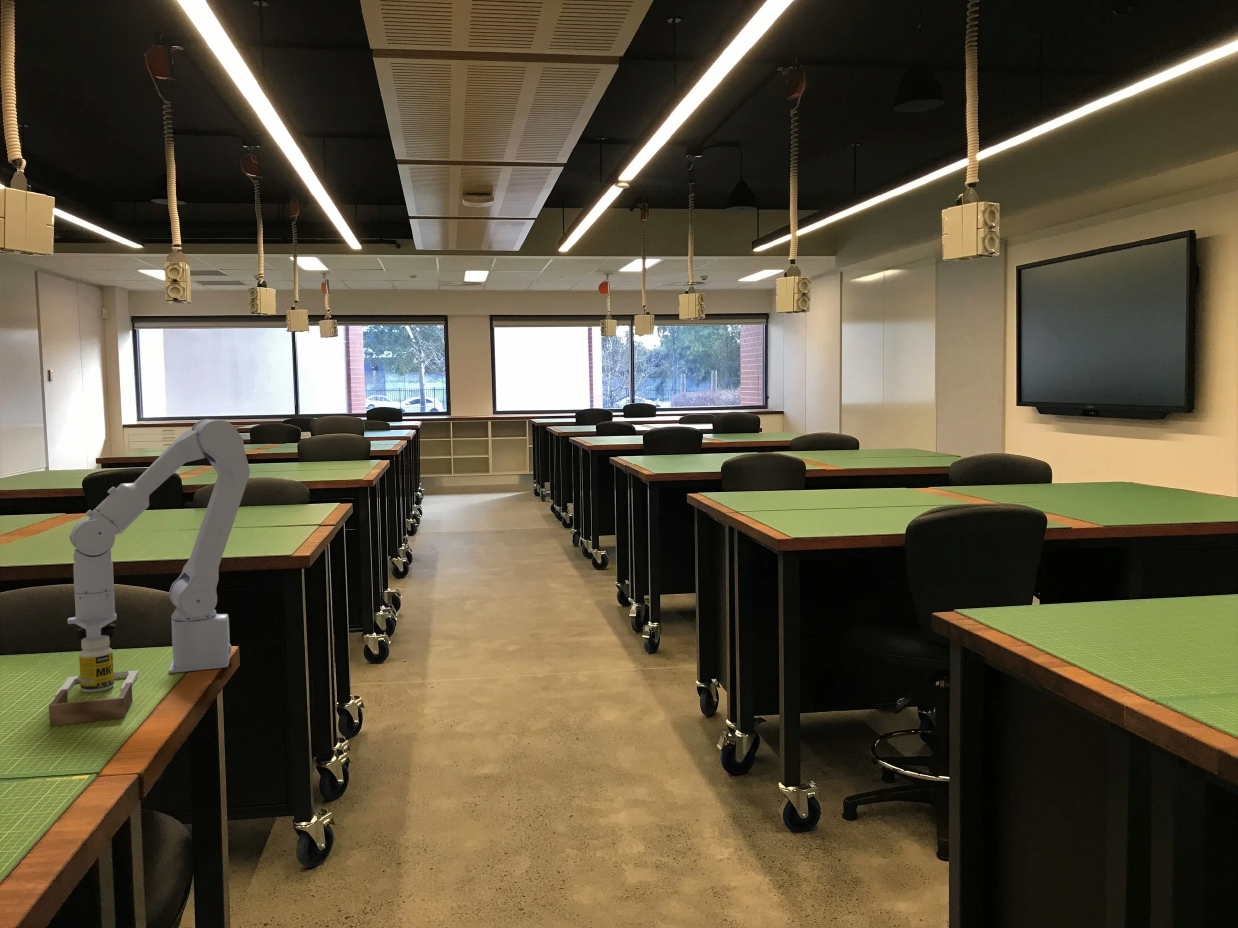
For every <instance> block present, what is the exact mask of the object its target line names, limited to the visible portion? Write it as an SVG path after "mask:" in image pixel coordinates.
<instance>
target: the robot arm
mask: <svg viewBox="0 0 1238 928" xmlns="http://www.w3.org/2000/svg"><path fill="white" fill-rule="evenodd" d="M244 447H245V446H244V438H243V436H242V435H241V434H240V432H239V431H238V430H237V428H236V427H235V426H234V425H233V424H232V423H230V422H229V421H226V420H224V419H212V418H205V419H200V420H198V421H197V422H196V423H194V425H193V426H192V427H191V429H187V430H186V431H185V432H183V433H182V434H180V435H179V437H177V438H176V439H175V440H174V441H173V442H172V443H170V445H169V446H168V447H167V448H166V449H165V450H164V451H163V452H162V453H161V454H160V455H159V456H158V457H157V458H156V459H155V460H154V461H153V462H152V463H151V465H150V466H149V467H147V468H146V470H144V472H143V473H142V474H141V475H139V477H138V478H137V479H135V481H134V482H128V483H127V482H125V483H124V482H123V483H120V484H118V486H116V487H115V486H112V487H111V488H109V489H108V490H107V493H108V496H107V497H105V499H103V500H102V501H101V502H100V503H99V504H98V505H97V506H96V507H95V508H94V509H93V510H91V509H89V510H87V511H86V512H85V515H86V516H87V517H88V518H83V519H81V520H79V521H78V522H77V523H76V524H75V525H74V526H73V527H72V529H71V533H70V535H69V541H70V542H71V544H72V546H73V547H74V548H75V549H74V551H73V561H74V563H73V566H72V568H73V586H74V587H73V588H74V592H73V593H74V603H75V605H74V606H75V607H74V608H75V609H74V610H75V611H74V612H75V616H73V617H68V618H67V624H68V625H72V624H73V625H74V624H75V625H77V626H79V627H80V628H78V629H77V630H76V632H75V635H76V638H77V639H78V641H79V643H81V640H82V639H84V638H94V637H101V635H106V636H109V640H110V642H111V641H112V638H113V636H114V634H115V633H116V628H117V627H116V625H117V624H115V623H112V622H114V621H117V620H118V619H117V618H118V616H117V613H116V601H115V599H116V598H115V584H114V583H115V582H114V579H115V578H114V576H115V575H114V562H113V560H112V548H113V547H114V545H115V543H116V536H117V535H120V534H122V533H123V532H124V531H125V530H126V529H128V527H129V526H131V525H132V524H133V523H134V521H135V520H136V519H137V518H138V517H140V515H141V514H143V513H144V512H145V511H146V510H147V509H148V508H149V507H150V495H151V494H152V493H154V491H156V489H158V488H159V487H160V486H161V485H162V484H163V483H164V482H165V481H167V480H168V479H169V478H170V477H171V476H172V475H173V474H174V473H175V472H176V471H177V470H179V469H180V468H181V467H182V466H183V465H184V464H186V463H189V462H193V461H197V460H201V459H202V460H203V459H205V458H206V459H208V461H209V463H210V465H211V466H212V468H213V469H214V471H215V473H216V474H217V477H216V481H215V483H214V486H213V490H212V492H211V495H210V497H209V502H208V504H207V507H206V509H205V510H206V511H205V513H204V515H203V519H202V522H201V525H200V528H199V530H198V533H197V537H196V539H195V541H194V545H193V548H192V551H191V554H190V556H189V559H188V560H187V562H186V563H185V564H184V566H183V568H182V571H181V573H180V574H179V576H178V577H177V579H175V581H173V582H172V584H171V586H170V588H169V592H168V593H169V600H170V601H171V603H172V604H173V606H174V607H175V609H174V611H173V612H172V614H171V615H170V616H171V617H170V618H171V619H170V620H171V640H172V642H171V644H172V646H171V647H172V661H171V663H170V666H169V668H168V673H169V674H173V673H174V674H176V673H182V672H183V673H185V672H193V671H203V670H205V671H206V670H213V669H222V668H223V669H224V668H228V667H229V665H230V659H231V655H232V644H231V642H230V641H231V640H230V637H231V636H230V618H229V614H228V613H217V610H216V609H215V608H216V606H217V605H218V604H217V603H218V594H217V586H218V582H219V578H220V577H219V576H220V575H219V574H220V573H219V569H220V568H219V567H220V564H221V561H222V558H223V555H224V552H225V549H226V546H227V543H228V540H229V537H230V534H231V531H232V529H233V525H234V522H235V519H236V516H237V514H238V511H239V507H240V505H241V501H242V499H243V496H244V493H245V490H246V487H247V485H248V481H249V478H250V473H251V470H250V469H251V468H250V465H249V462H248V458H247V455H246V450H245V448H244ZM108 647H110V645H109V646H108Z"/></svg>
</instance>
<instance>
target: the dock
mask: <svg viewBox="0 0 1238 928" xmlns="http://www.w3.org/2000/svg"><path fill="white" fill-rule="evenodd" d="M113 675H114V680H119V679H118V678H120V679H125V680H124V681H123V684H122V685H121V687H120V692H121V691H122V689H123V687H124V686H125V684H126V683H131V682H132V687H134V684H135V683H134V682H136V681H135V680H137V679H136V678H138V677H137V676H139V670H138V669H136V670H124V671H116V672H114V671H113ZM75 684H80V675H78V676H77V675H76V676H68V678H67V679H66V680H65V681H64V683H63V684H62V685H61V687H59V689H58V691H57V692H56V693H55V695H54V696H55V697H56V696H57V695H58V693H59V692H60V691H61V690H63V689H67V695H68V694H69V693H70V692H71V690H72V689H73V687H74V686H75ZM55 697H54V698H55Z"/></svg>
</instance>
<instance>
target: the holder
mask: <svg viewBox="0 0 1238 928" xmlns="http://www.w3.org/2000/svg"><path fill="white" fill-rule="evenodd" d="M68 697H69V696H68V694H67V689H63V690H61V691H60V692H59V693H58V695H57V696H56V697H54V699H53V700H52V701H51V703H50V704H49V705H48V715H49V717H48V718H49V726H50V727H54V726H55V727H56V726H62V725H63V726H65V725H73V724H74V725H75V724H81V723H90V722H91V723H92V722H99V721H107V720H115V719H116V720H117V719H123V718H125V717H126V715H127V713H128V712H129V710H130V707H131V705H132V703H133V686H132V682H131V683H126V684H125V686H124V687H123V689H122V691H121V690H120V694H119V695H118V696H117V697H107V698H99V699H98V698H97V699H87V700H86V699H85V700H79V701H69V700H68Z"/></svg>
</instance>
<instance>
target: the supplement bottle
mask: <svg viewBox="0 0 1238 928" xmlns="http://www.w3.org/2000/svg"><path fill="white" fill-rule="evenodd" d="M110 643H111V641H110V640H109V636H106V635H101V637H94V638H84V639H82V640H81V642H80V644H81V651H80V652H79V655H78V659H79V676H80V683H79V684H80V691H81V692H84V693H99V692H105V691H107V690H110V689H112V688H113V687H114V685H115V684H114V683H115V679H114V675H113V672H114V657H113V655H114V654H113V649H112V648H111V647H110ZM108 646H109V647H108Z"/></svg>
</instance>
